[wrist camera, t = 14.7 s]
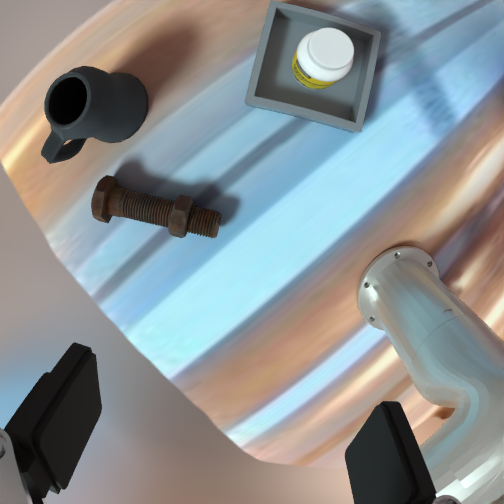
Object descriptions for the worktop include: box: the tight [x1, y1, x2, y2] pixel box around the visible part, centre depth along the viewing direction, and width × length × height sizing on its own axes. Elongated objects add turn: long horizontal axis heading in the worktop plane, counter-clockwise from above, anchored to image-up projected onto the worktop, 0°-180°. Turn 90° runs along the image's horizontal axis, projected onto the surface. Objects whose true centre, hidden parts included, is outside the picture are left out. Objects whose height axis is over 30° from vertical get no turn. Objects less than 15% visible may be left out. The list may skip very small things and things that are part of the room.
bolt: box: [91, 175, 222, 238], centre depth 36 cm, size 6×5×15 cm
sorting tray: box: [245, 0, 381, 133], centre depth 30 cm, size 13×13×4 cm
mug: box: [41, 66, 148, 164], centre depth 29 cm, size 12×9×11 cm
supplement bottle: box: [291, 28, 354, 90], centre depth 27 cm, size 5×5×10 cm
